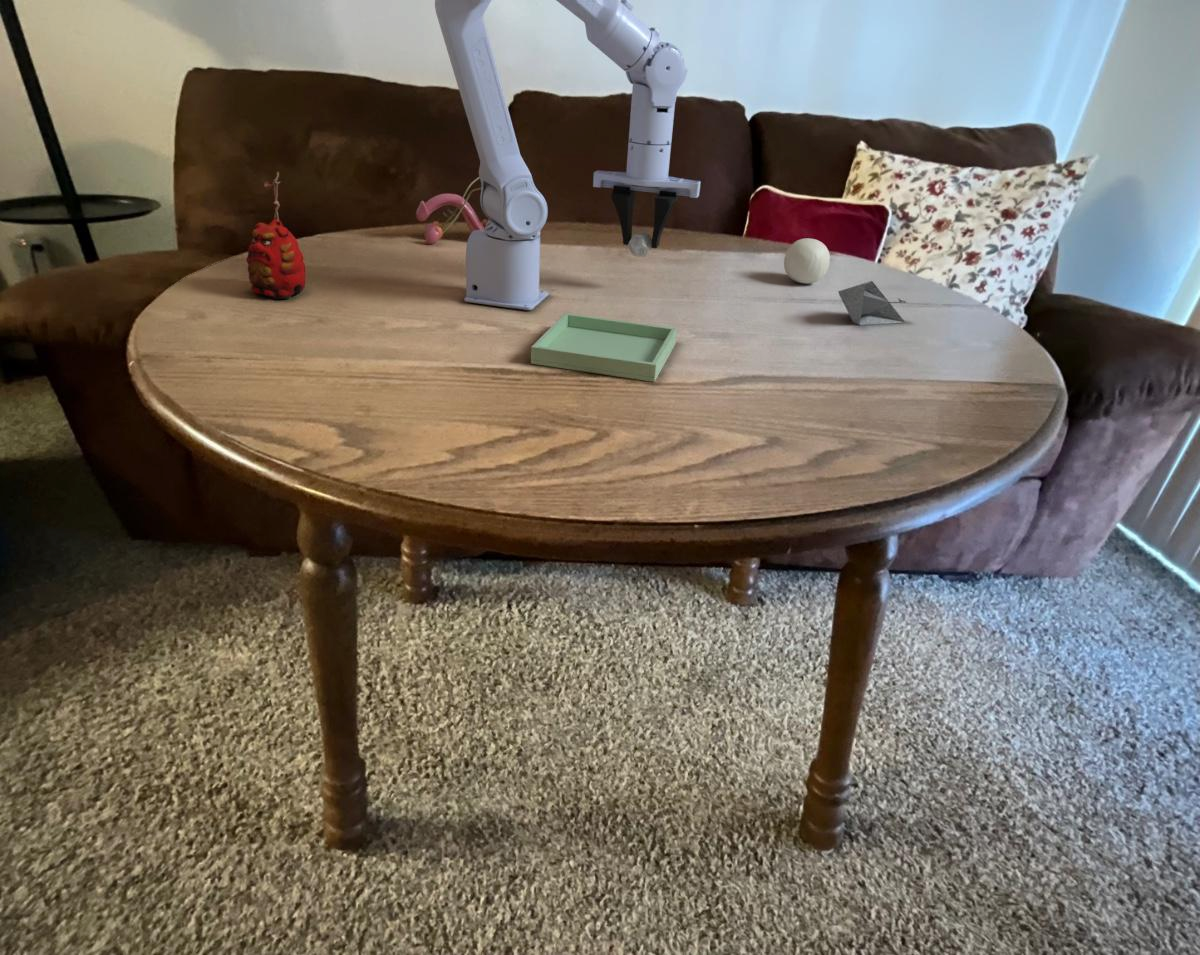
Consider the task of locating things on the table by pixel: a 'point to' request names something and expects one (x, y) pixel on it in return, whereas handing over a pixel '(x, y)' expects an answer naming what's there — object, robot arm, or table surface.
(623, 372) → the tray
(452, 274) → the table surface
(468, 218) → the anatomy model
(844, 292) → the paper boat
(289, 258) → the red clay folk toy
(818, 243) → the cream white ball
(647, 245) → the game die
